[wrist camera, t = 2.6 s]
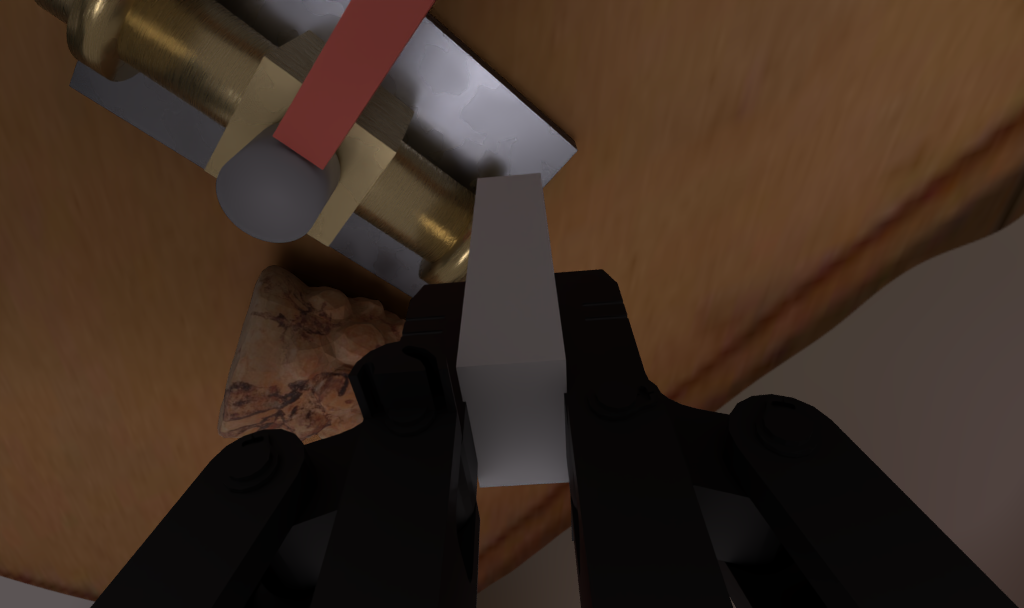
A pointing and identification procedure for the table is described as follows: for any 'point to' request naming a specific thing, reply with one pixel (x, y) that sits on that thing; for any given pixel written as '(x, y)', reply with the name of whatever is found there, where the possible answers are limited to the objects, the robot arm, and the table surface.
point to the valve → (367, 147)
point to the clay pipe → (301, 358)
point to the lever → (316, 124)
